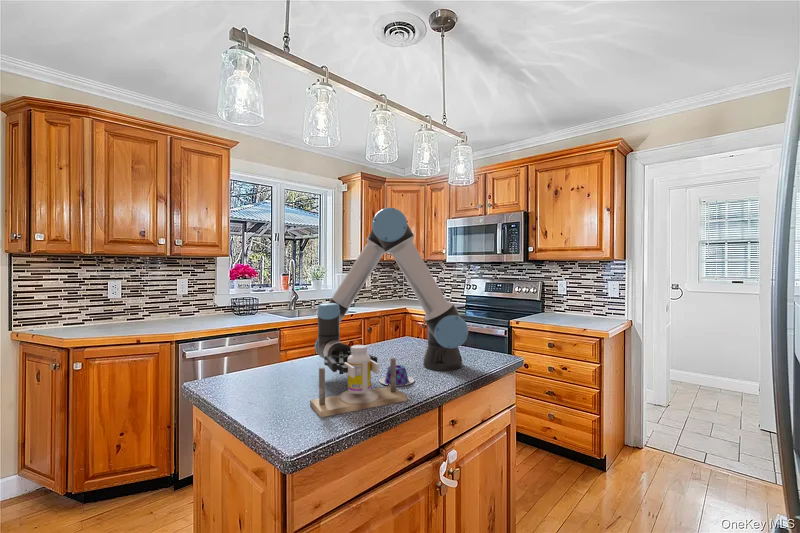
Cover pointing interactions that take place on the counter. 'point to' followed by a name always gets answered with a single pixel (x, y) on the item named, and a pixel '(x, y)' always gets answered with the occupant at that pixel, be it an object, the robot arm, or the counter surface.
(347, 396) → the board
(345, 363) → the robot arm
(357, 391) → the supplement bottle
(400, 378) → the pudding
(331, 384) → the counter surface
